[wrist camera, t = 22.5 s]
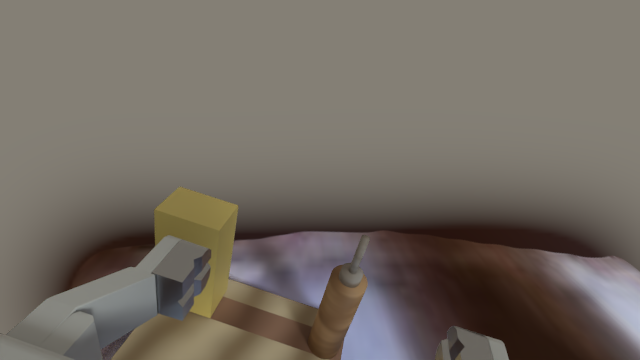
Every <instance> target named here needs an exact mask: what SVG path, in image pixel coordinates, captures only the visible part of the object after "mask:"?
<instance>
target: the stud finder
mask: <svg viewBox="0 0 640 360" xmlns="http://www.w3.org/2000/svg"><path fill="white" fill-rule="evenodd" d="M237 212H238V205H235V204H232V203H229V202H226V201H223V200H220V199H216V198H213V197H211V196H207V195H204V194H201V193H198V192H195V191H192V190H189V189H186V188H183V187H179V188H178V189H177V190H175V191H174V192H173V193H172V194H171V195H170V196H169V197H168V198H167V199H165V200H164V201H163V202H162V203H161V204H160V205H159V206H158V207H156V208H155V209H154V215H155V246H156V245H157V244H158V243H159V242H160V241H161V240H162V239H163V238H164V237H166V236H168V235H170V236H173V237H176V238H179V239H183V240H186V241H189V242H191V243H194V244H197V245H200V246H203V247H206V248H209V249H211V258H210V260H209V261H208V263H209V265H210V266H211V270H210V276H209V279H208V281H207V284H206V286H205V288H204V289H203V291H202V293H201V294H199V295H197V296H195V297H194V305H193V306H192V308H191V309H190V312H193V313H196V314H199V315H202V316H205V317H207V318H211V316H212V314H213V313H214V311H215V309H216V308H217V306H218V304H219V302H220V301H221V299H222V297H223V296H224V294H225V292H226V290H227V286H228V279H229V271H230V264H231V257H232V249H233V242H234V234H235V227H236V220H237Z"/></svg>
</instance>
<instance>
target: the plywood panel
mask: <svg viewBox="0 0 640 360" xmlns="http://www.w3.org/2000/svg"><path fill="white" fill-rule="evenodd" d="M317 312H318V309H316V308H314V307H311V306H308V305H305V304H302V303H299V302H296V301H293V300H290V299H287V298H284V297H281V296H278V295H275V294H272V293H269V292H266V291H263V290H260V289H257V288H254V287H251V286H248V285H245V284H242V283H240V282H237V281H234V280H231V279H228V286H227V290H226V292H225V294H224V296H223V297H222V299H221V301H220V302H219V304H218V306H217V308H216V309H215V311H214V313H213V314H212V316H211V318H207V317H205V316H202V315H199V314H196V313H193V312H190V311H189V312H188V314H187V315H186V317H185V318H184V320H183V321H181V320H178V319H175V318H171V317H168V316H165V315H161V314H158V313H157V314H158V315H157V316H155V317H153V318H152V319H150V320H148V321H147V322H145V323H143V324H142V325H140V326H139V327H137V328H135V329H134V330H133V332H132V333H131V334H130V336H129V337H128V338H127V339H126V341H125V342H124V343H123V344H122V346H121V347H120V348H119V350H118V351H117V352H116V353H115V355H114V356H113V357H112V359H111V360H341V354H342V348H343V342H344V340H343V342H342V344H341V346H340V349H339V351H338V353H337V355H336V356H334V357H333V358H331V359H321V358H318V357H316V356H315V355H314V354H313V353H312V352H311V351H310V349H309V346H308V337H309V335H310V332H311V329H312V326H313V323H314V321H315V318H316V315H317Z"/></svg>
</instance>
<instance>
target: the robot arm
mask: <svg viewBox="0 0 640 360" xmlns="http://www.w3.org/2000/svg"><path fill="white" fill-rule="evenodd" d="M210 258H211V249H209V248H206V247H203V246H200V245H197V244H194V243H191V242H189V241H186V240H183V239H179V238H176V237H173V236H170V235H168V236H166V237H164V238H163V239H162V240H161V241H160V242H159V243H158V244H157V245H156V246H155V247H154V248H153V249H152V250H151V251H150V252H149V254H148V255H147V256H146V257H145V258H144V259H143V260H142V261H141V262H140V263H139V264H138V265H137V266H136V267H135V268H134V267H128V268H126V269H123V270H120V271H118V272H115V273H113V274H110V275H107V276H105V277H102V278H99V279H97V280H94V281H92V282H89V283H86V284H84V285H81V286H78V287H76V288H73V289H71V290H68V291H65V292H63V293H60V294H57V295H55V296H52V297H50V298H47V299H46V300H45V301H44V302H43V303H41V304H40V305H39V306H38V307H37V308H36V309H35V310H33V311H32V312H31V313H30V314H29V315H28V316H27V317H25V318H24V319H23V320H22V321H21V322H20V323H19V324H17V325H16V326H15V327H14V328H13V329H12V330H11V331H9V332H8V333H7V334H6V335H4V334H1V333H0V360H103V357H102V353H101V349H102V348H104V347H105V346H107V345H109V344H110V343H112V342H114V341H115V340H117V339H119V338H120V337H122V336H124V335H125V334H127V333H129V332H130V331H132V330H134V329H135V328H137V327H139V326H140V325H142V324H143V323H145V322H147V321H148V320H150V319H152V318H153V317H155V316H157V315H158V314H161V315H165V316H168V317H171V318H175V319H178V320H181V321H183V320H184V318H185V317H186V315H187V314H188V312H189V311H190V309H191V308H192V306H193V305H194V297H195V296H197V295H199V294H201V293H202V291H203V289H204V288H205V286H206V284H207V281H208V279H209V276H210V270H211V266H210V265H209V263H208V261H209V260H210ZM157 313H158V314H157ZM447 337H448V339H445V340H442V341H441V342H440V344H439V346H438V348H437V351H436V355H435V360H509V358H508V355H507V351H506V348H505V345H504V343H503V342H502V341H501V340H498V339H494V338H491V337H488V336H484V335H482V334H479V333H475V332H472V331H469V330H466V329H462V328H459V327H456V326H452V327H450V329H449V330H448V332H447Z"/></svg>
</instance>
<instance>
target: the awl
mask: <svg viewBox="0 0 640 360" xmlns="http://www.w3.org/2000/svg"><path fill="white" fill-rule="evenodd" d="M369 240H370V238H369V237H368V236H367V235H362V237H361V240H360V242H359V245H358V247H357V250H356V252H355V255H354V258H353V260H352V263H346V264H344V265H339V266H337V267H335V268H334V269H333V270H332V273H331V276H330V278H329V281H328V284H327V287H326V290H325V292H324V295H323V298H322V301H321V304H320V307H319V309H318V312H317V315H316V318H315V321H314V323H313V326H312V329H311V332H310V335H309V337H308V346H309V349H310V351H311V352H312V353H313V354H314V355H315V356H316V357H318V358H321V359H331V358H333V357H334V356H336V355H337V353H338V351H339V349H340V346H341V344H342V342H343V340H344V337H345V335H346V333H347V331H348V328H349V326H350V324H351V322H352V319H353V317H354V315H355V313H356V310H357V308H358V306H359V304H360V302H361V299H362V297H363V295H364V293H365V290H366V288H367V279H366V277H365V275H364V274H363V271H362V269H361V268H360V267H359V265H360V262H361V260H362V257H363V255H364V252H365V250H366V247H367V245H368V243H369Z"/></svg>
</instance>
